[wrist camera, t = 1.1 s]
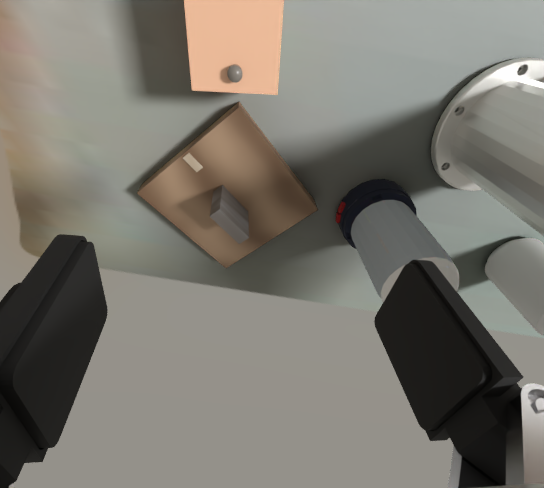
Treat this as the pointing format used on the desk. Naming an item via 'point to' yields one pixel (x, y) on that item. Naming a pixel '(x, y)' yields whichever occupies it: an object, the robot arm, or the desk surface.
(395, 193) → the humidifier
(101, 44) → the desk surface
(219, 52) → the light orange block
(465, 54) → the desk surface
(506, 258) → the can
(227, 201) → the stand
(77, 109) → the desk surface
